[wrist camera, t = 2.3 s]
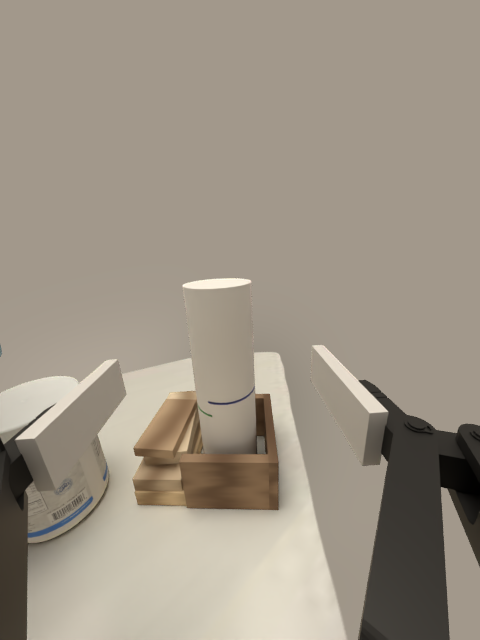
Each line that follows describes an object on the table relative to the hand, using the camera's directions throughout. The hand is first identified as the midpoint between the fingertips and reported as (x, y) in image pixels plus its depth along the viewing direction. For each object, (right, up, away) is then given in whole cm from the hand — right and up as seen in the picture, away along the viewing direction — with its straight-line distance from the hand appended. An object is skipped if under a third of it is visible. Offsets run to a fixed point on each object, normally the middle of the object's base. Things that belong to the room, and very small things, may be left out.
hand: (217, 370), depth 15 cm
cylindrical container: (0, -17, +16) cm, 23 cm away
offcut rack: (-2, -16, +18) cm, 24 cm away
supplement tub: (-20, -19, +12) cm, 30 cm away
